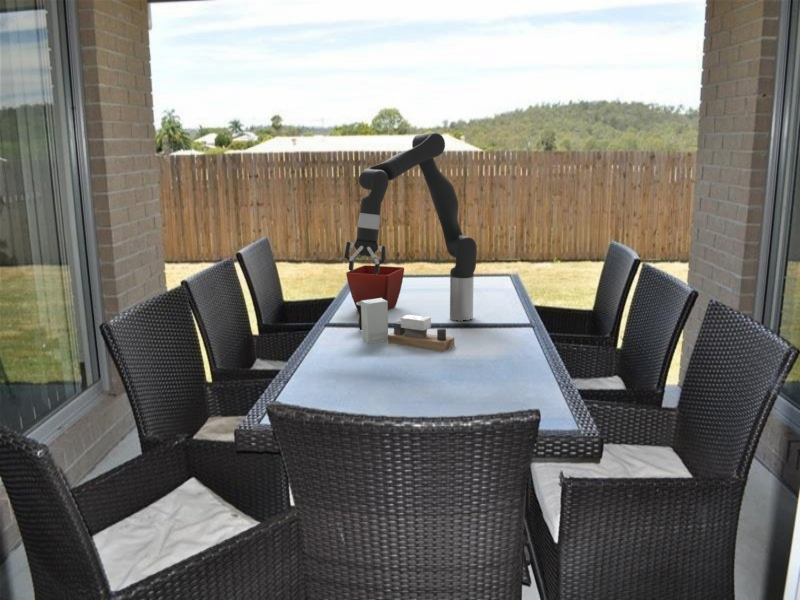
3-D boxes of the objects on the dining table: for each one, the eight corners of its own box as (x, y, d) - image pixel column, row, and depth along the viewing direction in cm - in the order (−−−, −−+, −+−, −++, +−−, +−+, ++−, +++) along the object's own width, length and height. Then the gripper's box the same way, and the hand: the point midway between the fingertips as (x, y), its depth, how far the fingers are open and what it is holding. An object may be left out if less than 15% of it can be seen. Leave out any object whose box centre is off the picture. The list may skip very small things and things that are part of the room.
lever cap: (408, 324, 266) (408, 314, 265) (430, 327, 262) (430, 317, 261) (400, 327, 261) (400, 317, 261) (423, 330, 257) (423, 320, 256)
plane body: (399, 337, 271) (398, 319, 269) (454, 345, 260) (454, 326, 259) (388, 343, 264) (387, 324, 262) (444, 351, 253) (444, 331, 252)
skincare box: (382, 337, 272) (381, 297, 269) (389, 341, 267) (388, 300, 263) (360, 339, 268) (360, 299, 265) (367, 344, 263) (367, 302, 260)
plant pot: (345, 311, 311) (345, 272, 307) (365, 302, 328) (364, 264, 324) (388, 315, 304) (387, 275, 300) (405, 305, 321) (405, 267, 317)
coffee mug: (376, 332, 278) (376, 306, 276) (354, 331, 280) (353, 305, 278) (383, 324, 289) (383, 299, 287) (361, 323, 291) (361, 298, 289)
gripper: (390, 229, 263) (384, 275, 265) (350, 224, 265) (345, 270, 266) (387, 229, 256) (381, 276, 257) (346, 224, 257) (341, 271, 259)
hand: (363, 273), depth 262 cm, fingers open, 8 cm apart
